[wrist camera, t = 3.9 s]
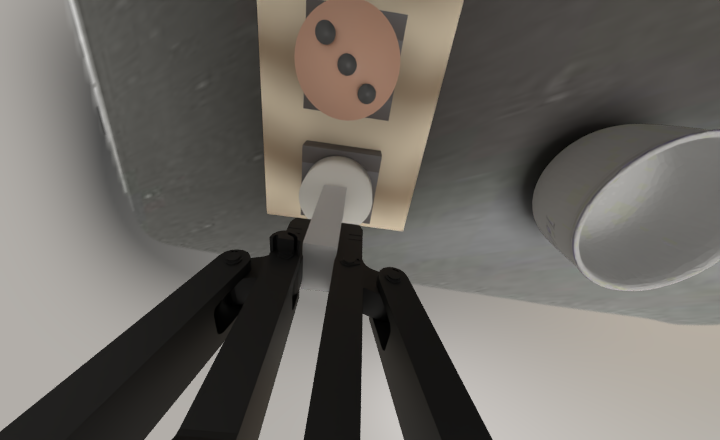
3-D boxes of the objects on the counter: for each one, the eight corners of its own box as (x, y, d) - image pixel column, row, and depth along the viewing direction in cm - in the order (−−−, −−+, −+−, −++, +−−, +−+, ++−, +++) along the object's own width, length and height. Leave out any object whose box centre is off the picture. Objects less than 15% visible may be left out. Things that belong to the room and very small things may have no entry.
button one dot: (310, 145, 19) (298, 160, 16) (376, 154, 20) (378, 172, 16) (307, 204, 22) (297, 228, 19) (366, 212, 22) (366, 237, 19)
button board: (259, -247, 12) (224, -349, 9) (504, -194, 13) (546, -274, 10) (274, 203, 24) (261, 222, 21) (400, 219, 25) (405, 240, 22)
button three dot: (310, 4, 14) (293, -15, 11) (402, 19, 14) (412, 5, 11) (307, 104, 17) (292, 113, 13) (385, 116, 17) (389, 127, 14)
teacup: (490, 206, 24) (539, 262, 17) (583, 85, 19) (706, 95, 12) (603, 255, 27) (686, 321, 20) (713, 159, 22) (877, 203, 15)
